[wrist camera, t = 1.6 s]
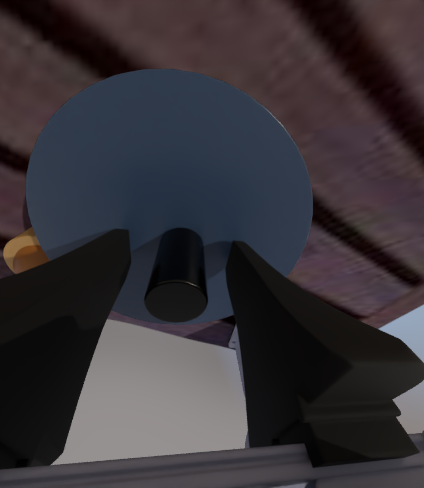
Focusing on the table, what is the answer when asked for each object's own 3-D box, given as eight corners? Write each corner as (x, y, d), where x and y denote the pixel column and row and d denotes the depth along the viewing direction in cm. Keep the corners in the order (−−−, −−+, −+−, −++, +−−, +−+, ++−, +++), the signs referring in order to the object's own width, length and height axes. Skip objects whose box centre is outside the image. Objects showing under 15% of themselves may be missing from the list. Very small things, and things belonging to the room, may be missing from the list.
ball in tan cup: (102, 270, 18) (80, 306, 14) (42, 266, 17) (2, 303, 14) (93, 222, 15) (62, 252, 12) (21, 214, 14) (-35, 244, 11)
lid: (259, 315, 16) (283, 383, 12) (77, 309, 14) (25, 391, 10) (355, 116, 9) (517, 108, 4) (-18, 27, 6) (-490, -191, 2)
